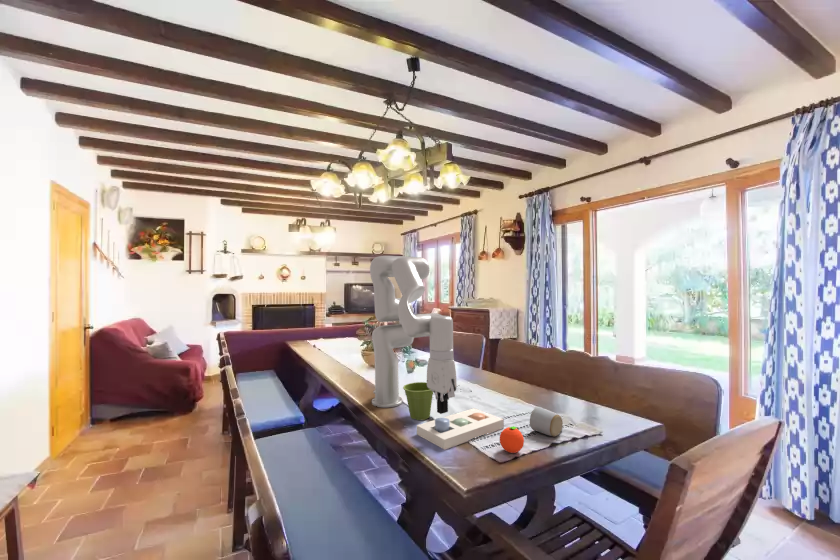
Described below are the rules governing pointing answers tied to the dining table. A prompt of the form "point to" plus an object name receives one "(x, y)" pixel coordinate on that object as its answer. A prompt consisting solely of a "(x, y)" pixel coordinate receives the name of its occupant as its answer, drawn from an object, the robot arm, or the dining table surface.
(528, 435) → the dining table surface
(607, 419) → the dining table surface
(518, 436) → the clementine
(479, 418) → the terracotta button
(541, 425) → the grey canister
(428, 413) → the plant pot
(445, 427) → the blue button
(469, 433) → the console
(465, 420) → the green button
